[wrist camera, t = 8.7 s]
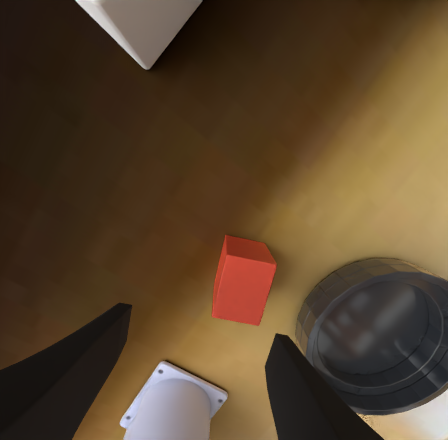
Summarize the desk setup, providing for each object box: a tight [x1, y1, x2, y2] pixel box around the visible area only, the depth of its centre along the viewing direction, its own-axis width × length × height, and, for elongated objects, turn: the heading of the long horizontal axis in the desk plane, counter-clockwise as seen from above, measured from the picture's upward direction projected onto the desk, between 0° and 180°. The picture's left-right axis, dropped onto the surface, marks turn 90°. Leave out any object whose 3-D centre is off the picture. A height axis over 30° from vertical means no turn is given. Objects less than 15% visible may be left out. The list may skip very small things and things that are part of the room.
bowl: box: [296, 258, 448, 415], centre depth 20 cm, size 14×14×3 cm
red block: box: [212, 235, 277, 326], centre depth 18 cm, size 5×4×5 cm
